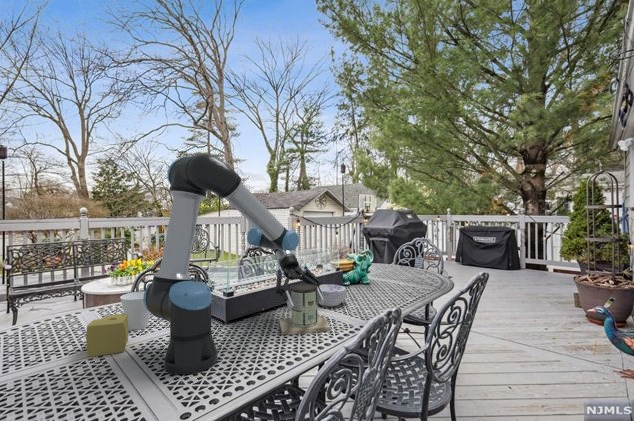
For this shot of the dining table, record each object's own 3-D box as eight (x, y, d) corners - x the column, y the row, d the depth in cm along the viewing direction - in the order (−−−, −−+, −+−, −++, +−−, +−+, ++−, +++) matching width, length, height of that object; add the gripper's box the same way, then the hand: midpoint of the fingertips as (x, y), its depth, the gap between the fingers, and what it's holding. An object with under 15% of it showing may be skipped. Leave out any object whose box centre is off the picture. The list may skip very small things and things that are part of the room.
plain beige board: (282, 334, 125) (282, 330, 125) (279, 322, 137) (279, 319, 137) (330, 331, 128) (330, 327, 128) (322, 319, 141) (322, 315, 141)
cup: (123, 335, 125) (123, 301, 125) (117, 326, 134) (117, 294, 134) (158, 327, 132) (158, 295, 132) (150, 319, 142) (150, 289, 141)
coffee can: (300, 316, 140) (300, 282, 140) (322, 321, 135) (322, 285, 134) (285, 324, 131) (285, 287, 131) (308, 329, 126) (308, 291, 126)
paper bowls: (345, 299, 170) (345, 283, 170) (345, 309, 155) (345, 291, 155) (315, 299, 172) (315, 283, 171) (311, 308, 156) (311, 291, 156)
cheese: (94, 345, 116) (93, 316, 116) (130, 340, 120) (129, 312, 120) (85, 358, 106) (85, 326, 106) (125, 353, 110) (124, 322, 110)
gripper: (308, 262, 152) (329, 304, 140) (256, 268, 138) (274, 315, 126) (315, 251, 148) (337, 294, 136) (262, 257, 134) (281, 304, 121)
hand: (307, 304), depth 131 cm, fingers open, 13 cm apart
